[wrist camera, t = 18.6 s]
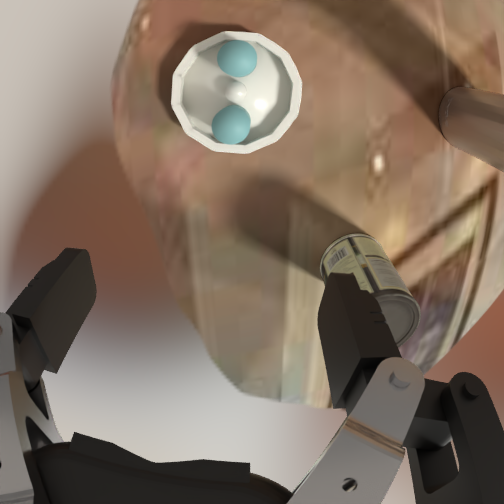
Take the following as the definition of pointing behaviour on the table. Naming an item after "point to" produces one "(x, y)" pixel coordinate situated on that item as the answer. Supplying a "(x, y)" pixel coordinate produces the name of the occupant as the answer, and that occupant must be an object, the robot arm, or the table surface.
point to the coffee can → (374, 280)
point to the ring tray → (237, 92)
